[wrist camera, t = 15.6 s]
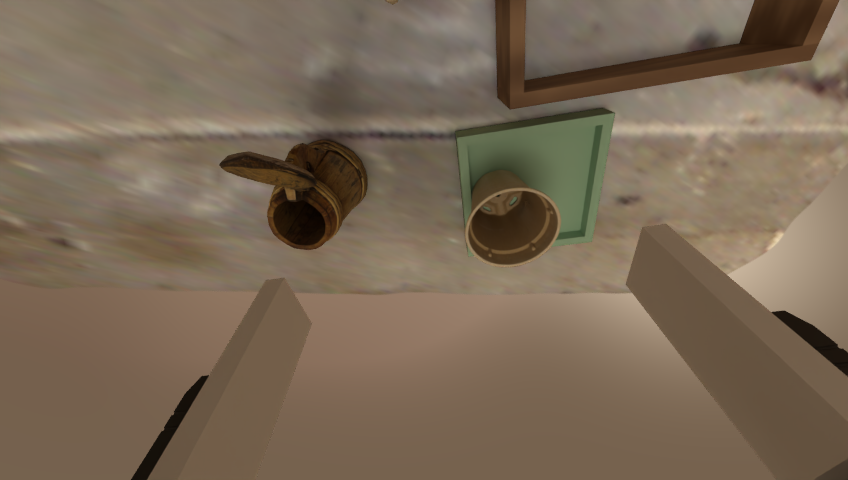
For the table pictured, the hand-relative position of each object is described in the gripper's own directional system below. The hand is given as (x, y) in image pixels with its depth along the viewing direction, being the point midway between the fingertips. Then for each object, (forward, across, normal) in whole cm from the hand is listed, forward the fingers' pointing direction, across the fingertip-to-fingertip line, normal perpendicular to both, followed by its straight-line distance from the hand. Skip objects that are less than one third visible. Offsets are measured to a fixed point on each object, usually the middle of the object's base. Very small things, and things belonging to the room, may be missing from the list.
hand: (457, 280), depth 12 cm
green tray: (+26, +10, -11) cm, 30 cm away
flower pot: (+25, +6, -10) cm, 28 cm away
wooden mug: (+27, -13, -3) cm, 30 cm away
